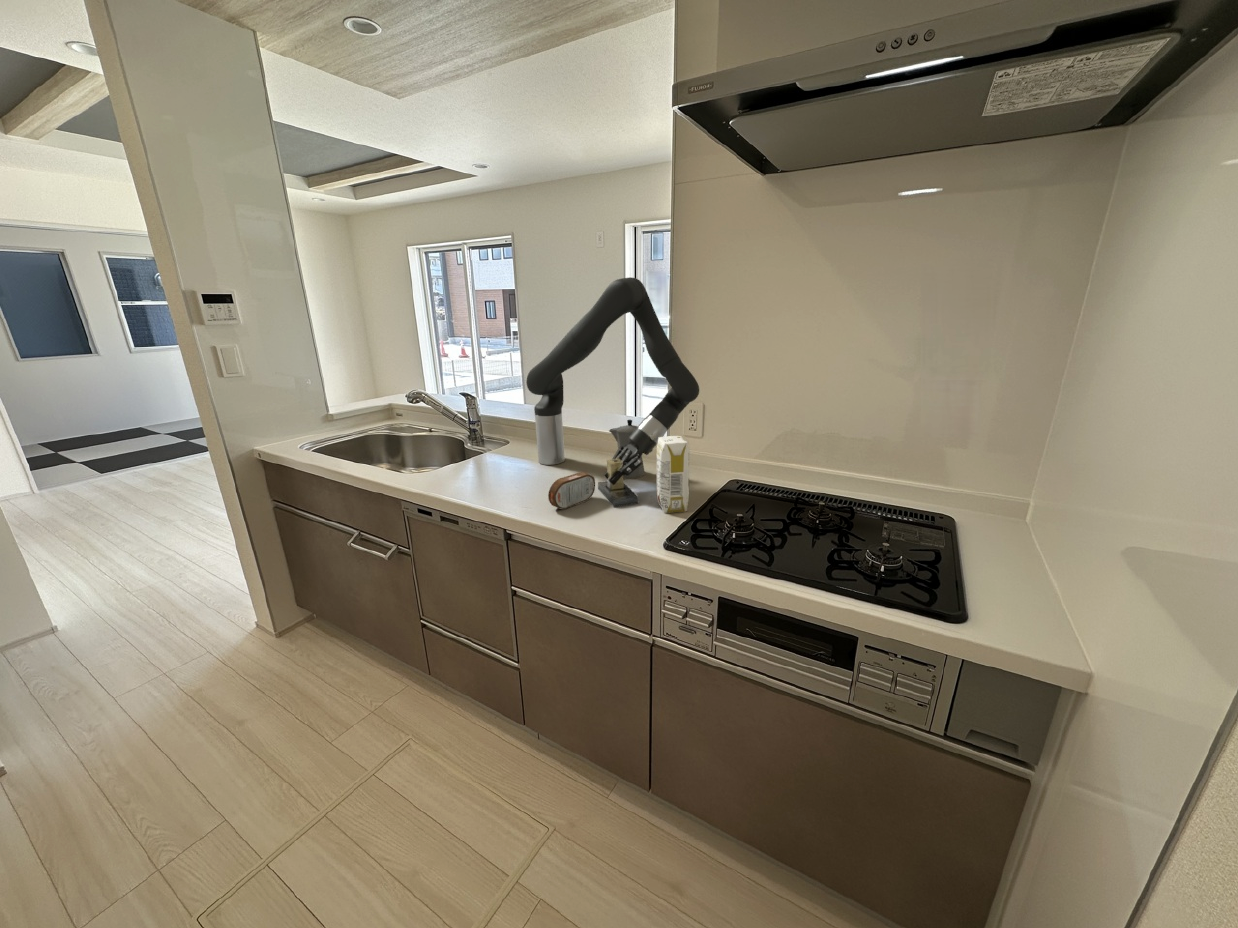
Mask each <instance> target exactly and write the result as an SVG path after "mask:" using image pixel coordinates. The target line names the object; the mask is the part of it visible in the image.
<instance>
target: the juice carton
mask: <svg viewBox="0 0 1238 928" xmlns="http://www.w3.org/2000/svg"><path fill="white" fill-rule="evenodd" d="M689 445H690V444H689V442H688V441H686V440H684V438H683V436H682V435H669V436H663V437H658V443H657V445H656V499H657V503H658V505H659V506H660V507H661V509H662V512H663V513H664V514H671V513H682V512H687V511H688V505H689V499H690V498H689V496H690V494H689V493H690V463H691V461H690V460H691V459H690V458H691V457H690V454H691V453H690V446H689Z"/></svg>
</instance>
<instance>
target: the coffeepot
mask: <svg viewBox="0 0 1238 928" xmlns="http://www.w3.org/2000/svg"><path fill="white" fill-rule="evenodd" d="M626 421H627V425H622V426H621V425H620V426H619V427H614V428H610V429H609V430H608V432H610V433H611V435H612V436H613V438H614V439H615V440H616V443H617V450H618V449H619V447H620V446H623V447H626V446H627V445H628V444H629V443H630V441H629V440H628V437H629V436H630V435H631V434H632V432H633V431H634V430H635V429H636V428H637V427H638V425H634V424H633V419H628V420H626ZM653 450H654V448H653V449H652V450H651V452H650V453H652V452H653ZM640 461H641V462H642V464H641V465H640V466H639V467H638V468H637V469H635V470H634V471H633V472H632V473H631V474H629V475H628V476H626V475H624V476H623V479H627V478H633V479H637V478H638V477H639V478H641V476H642V477H643V476H645V474H646V472H645V465H644V461H643V455H642V456H641V458H640ZM623 467H624V466H623ZM629 470H630V469H629ZM629 470H628V471H629ZM639 478H638V479H639Z"/></svg>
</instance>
